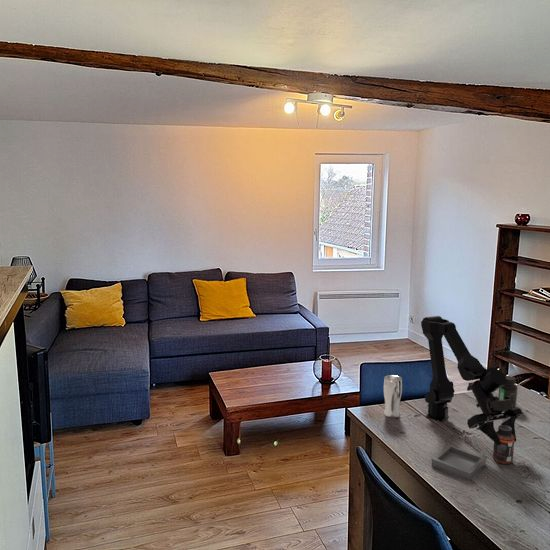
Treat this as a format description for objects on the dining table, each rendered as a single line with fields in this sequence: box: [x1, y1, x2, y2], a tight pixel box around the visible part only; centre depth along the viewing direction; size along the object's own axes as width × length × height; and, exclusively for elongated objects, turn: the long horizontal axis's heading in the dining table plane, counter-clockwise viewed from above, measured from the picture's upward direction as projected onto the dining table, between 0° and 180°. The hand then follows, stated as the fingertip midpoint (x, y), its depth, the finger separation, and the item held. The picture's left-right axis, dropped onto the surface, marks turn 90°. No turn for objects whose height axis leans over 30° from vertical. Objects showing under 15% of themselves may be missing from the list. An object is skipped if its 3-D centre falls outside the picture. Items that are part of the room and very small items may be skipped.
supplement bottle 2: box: [492, 424, 515, 465], centre depth 164 cm, size 6×6×11 cm
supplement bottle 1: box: [497, 375, 519, 408], centre depth 205 cm, size 7×7×12 cm
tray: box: [431, 444, 487, 482], centre depth 161 cm, size 12×12×2 cm
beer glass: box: [383, 374, 403, 419], centre depth 197 cm, size 7×7×15 cm
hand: (507, 443), depth 162 cm, fingers closed on supplement bottle 2, 6 cm apart
